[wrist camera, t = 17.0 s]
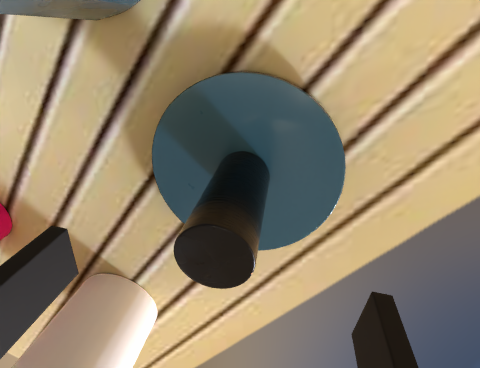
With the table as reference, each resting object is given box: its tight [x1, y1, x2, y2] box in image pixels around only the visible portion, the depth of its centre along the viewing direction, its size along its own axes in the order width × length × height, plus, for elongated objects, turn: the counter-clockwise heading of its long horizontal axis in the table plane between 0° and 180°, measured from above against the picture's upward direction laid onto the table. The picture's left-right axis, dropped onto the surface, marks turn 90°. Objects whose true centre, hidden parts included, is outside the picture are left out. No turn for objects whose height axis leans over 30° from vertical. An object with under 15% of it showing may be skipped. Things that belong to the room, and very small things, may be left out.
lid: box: [152, 71, 346, 289], centre depth 18 cm, size 15×15×10 cm
